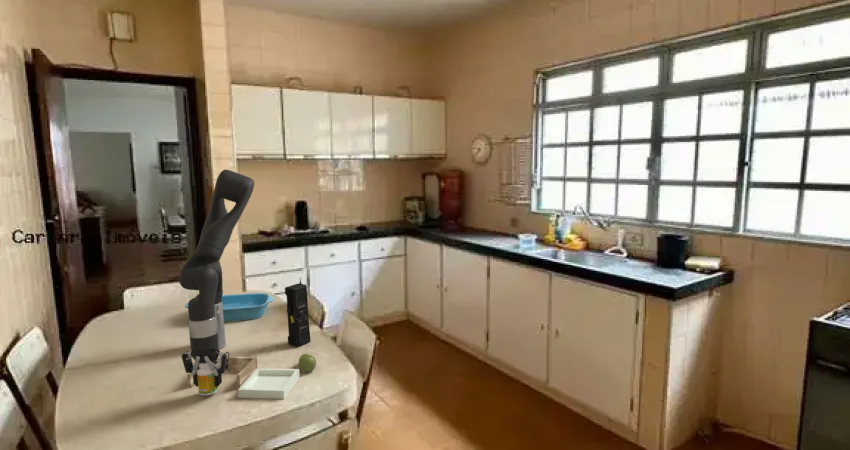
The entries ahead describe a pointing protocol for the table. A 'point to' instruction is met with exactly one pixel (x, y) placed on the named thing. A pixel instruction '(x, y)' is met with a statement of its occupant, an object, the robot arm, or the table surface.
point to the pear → (307, 363)
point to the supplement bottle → (206, 380)
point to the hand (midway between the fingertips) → (208, 385)
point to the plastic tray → (269, 383)
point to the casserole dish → (244, 306)
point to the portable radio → (297, 314)
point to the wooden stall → (236, 369)
